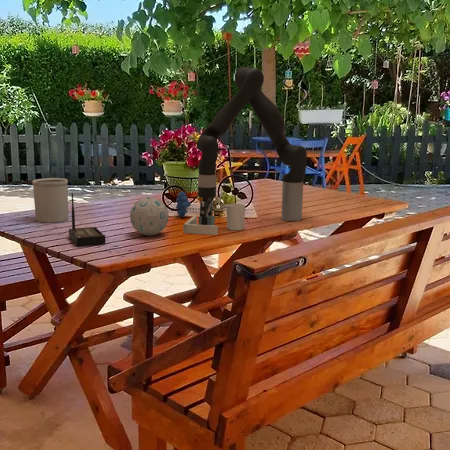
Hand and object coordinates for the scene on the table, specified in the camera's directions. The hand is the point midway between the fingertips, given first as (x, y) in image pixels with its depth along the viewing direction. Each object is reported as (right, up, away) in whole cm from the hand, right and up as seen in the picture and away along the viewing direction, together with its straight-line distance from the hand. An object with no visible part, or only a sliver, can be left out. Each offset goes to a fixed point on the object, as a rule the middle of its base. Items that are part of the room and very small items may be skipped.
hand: (206, 224), depth 255 cm
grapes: (-11, +3, +26) cm, 28 cm away
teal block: (0, -2, 0) cm, 2 cm away
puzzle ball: (-22, -4, -9) cm, 25 cm away
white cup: (+12, -2, +4) cm, 13 cm away
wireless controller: (-46, -7, -18) cm, 50 cm away
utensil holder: (-68, +2, +16) cm, 70 cm away
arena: (-1, -2, +2) cm, 3 cm away
